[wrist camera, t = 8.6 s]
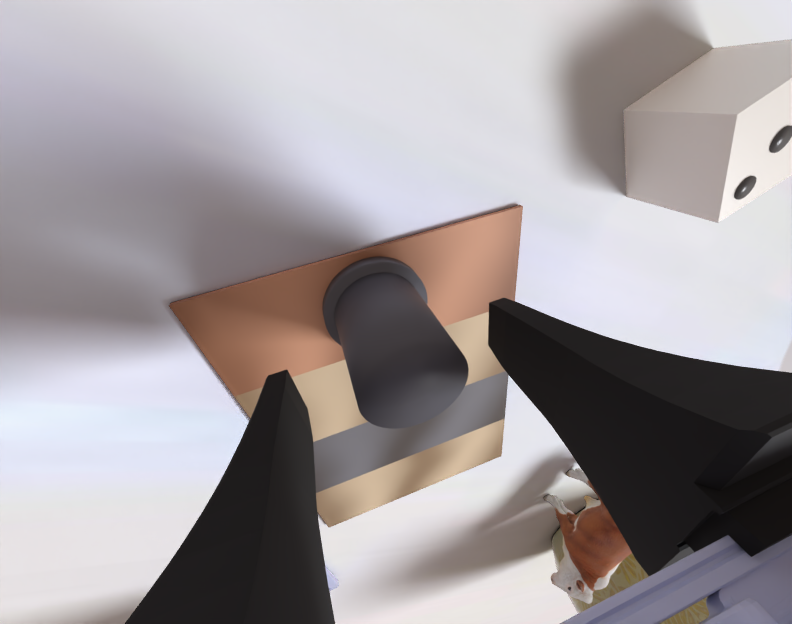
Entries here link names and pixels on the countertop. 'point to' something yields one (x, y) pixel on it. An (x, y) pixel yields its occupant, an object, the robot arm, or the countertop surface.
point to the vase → (624, 578)
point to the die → (713, 132)
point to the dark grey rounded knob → (392, 343)
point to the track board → (328, 374)
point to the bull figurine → (587, 546)
